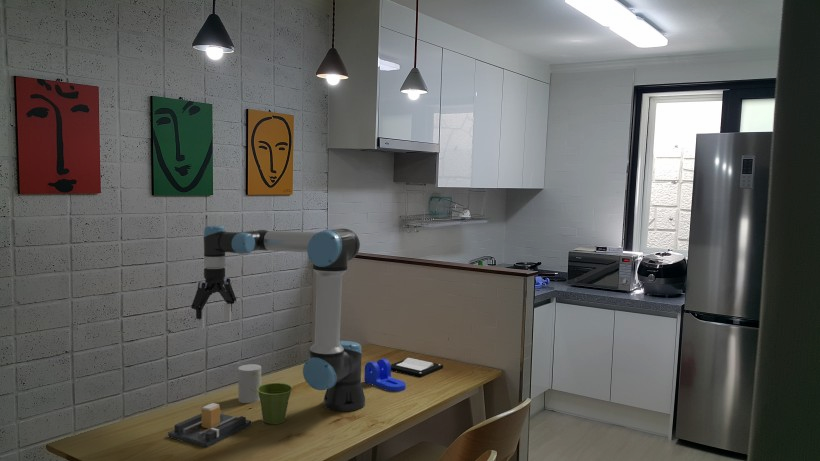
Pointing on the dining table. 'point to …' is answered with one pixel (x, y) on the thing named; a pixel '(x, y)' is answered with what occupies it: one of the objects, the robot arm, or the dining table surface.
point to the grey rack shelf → (214, 431)
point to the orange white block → (210, 415)
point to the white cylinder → (249, 383)
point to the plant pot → (274, 401)
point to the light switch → (415, 367)
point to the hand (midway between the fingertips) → (214, 324)
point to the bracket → (382, 376)
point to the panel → (198, 433)
